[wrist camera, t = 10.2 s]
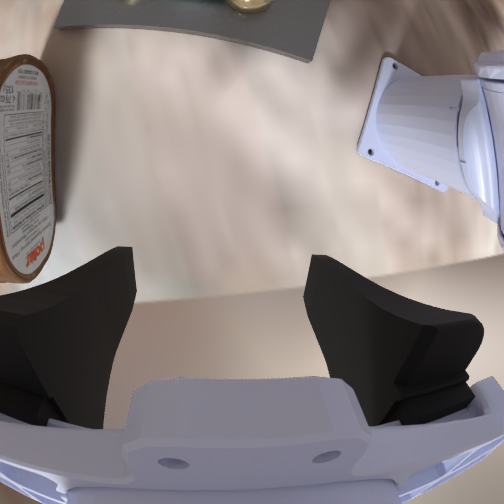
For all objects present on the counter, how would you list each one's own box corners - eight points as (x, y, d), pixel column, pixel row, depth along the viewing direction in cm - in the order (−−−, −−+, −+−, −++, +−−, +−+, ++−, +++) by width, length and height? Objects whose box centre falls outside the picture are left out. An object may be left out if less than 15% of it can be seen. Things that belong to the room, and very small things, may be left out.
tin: (35, 65, 14) (-40, 58, 6) (68, 58, 14) (-5, 41, 6) (39, 249, 20) (-16, 306, 12) (68, 251, 20) (16, 314, 13)
